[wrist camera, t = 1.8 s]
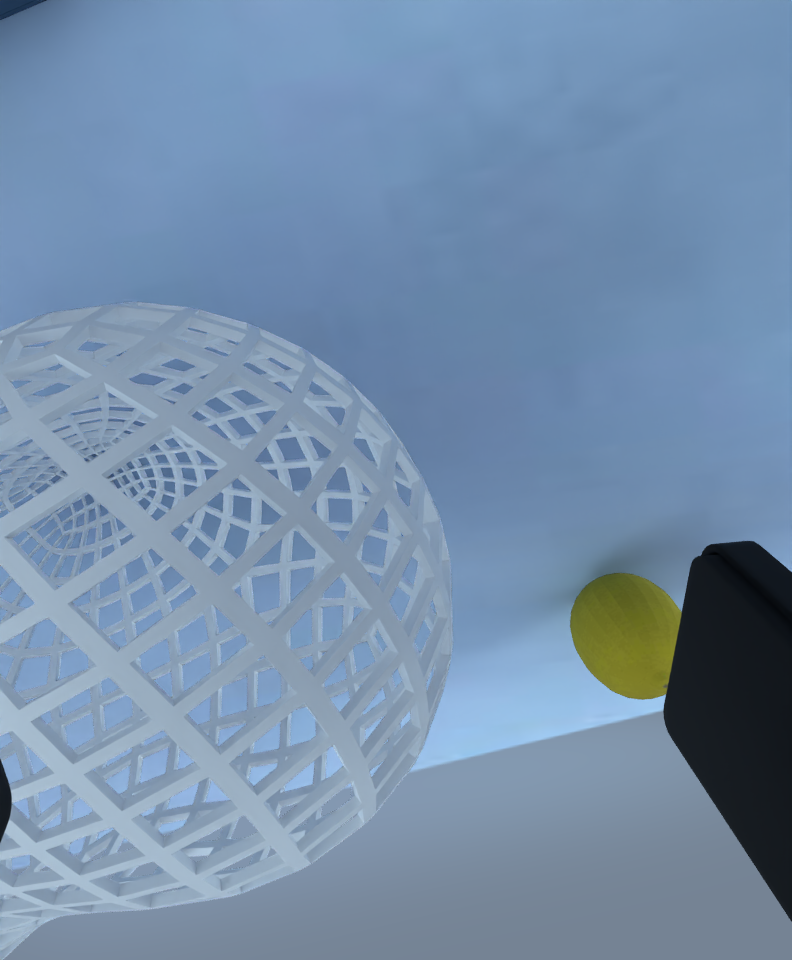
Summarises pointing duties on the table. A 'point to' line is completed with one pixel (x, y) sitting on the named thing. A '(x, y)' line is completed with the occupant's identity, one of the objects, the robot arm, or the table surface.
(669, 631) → the lemon
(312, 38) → the table surface
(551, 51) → the table surface
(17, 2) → the blue open box
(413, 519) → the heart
